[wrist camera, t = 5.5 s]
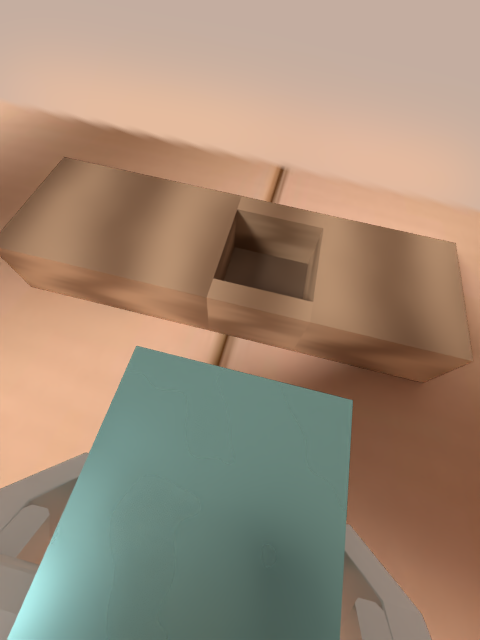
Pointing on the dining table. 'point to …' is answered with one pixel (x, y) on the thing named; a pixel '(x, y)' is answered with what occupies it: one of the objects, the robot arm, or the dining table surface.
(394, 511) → the dining table surface
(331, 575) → the teal square peg
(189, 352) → the dining table surface
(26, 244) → the wooden peg hole block
